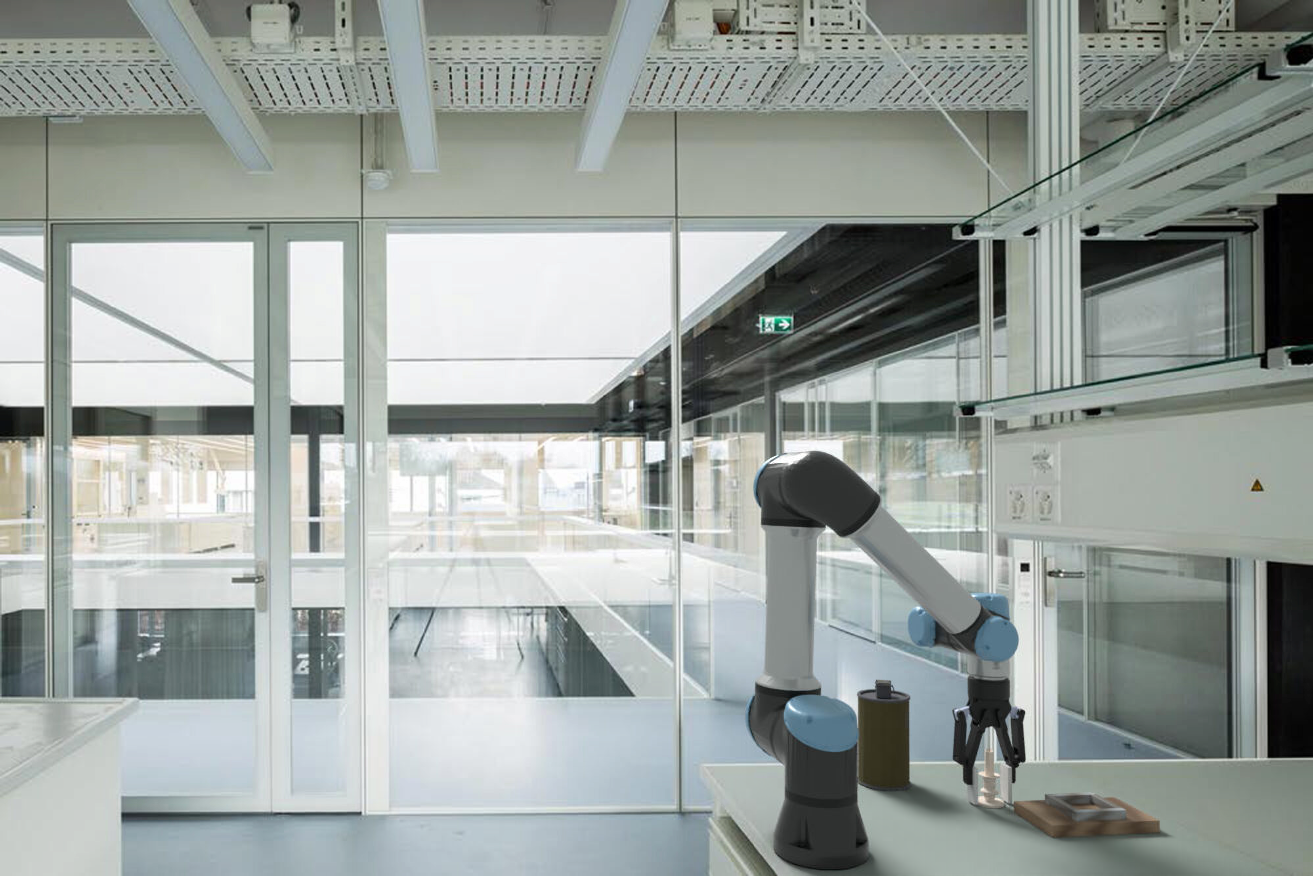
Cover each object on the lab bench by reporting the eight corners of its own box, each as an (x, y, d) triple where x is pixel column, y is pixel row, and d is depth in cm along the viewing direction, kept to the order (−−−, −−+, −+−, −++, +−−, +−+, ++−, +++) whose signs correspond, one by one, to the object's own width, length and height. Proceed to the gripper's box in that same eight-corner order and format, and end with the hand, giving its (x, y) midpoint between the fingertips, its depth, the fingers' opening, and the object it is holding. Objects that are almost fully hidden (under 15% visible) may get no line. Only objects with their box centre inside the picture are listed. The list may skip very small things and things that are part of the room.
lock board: (1052, 837, 152) (1052, 816, 152) (1014, 812, 164) (1013, 792, 164) (1159, 832, 155) (1159, 811, 155) (1114, 808, 167) (1114, 788, 167)
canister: (912, 793, 174) (912, 688, 175) (857, 789, 176) (857, 685, 177) (908, 776, 185) (908, 677, 186) (856, 772, 187) (856, 674, 188)
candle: (1007, 809, 166) (1006, 751, 166) (977, 807, 166) (977, 750, 167) (1001, 800, 171) (1000, 744, 171) (972, 798, 172) (972, 742, 172)
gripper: (950, 681, 165) (951, 810, 164) (1046, 679, 168) (1048, 806, 166) (931, 673, 172) (932, 796, 171) (1024, 671, 175) (1025, 793, 174)
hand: (989, 801), depth 169 cm, fingers open, 6 cm apart
